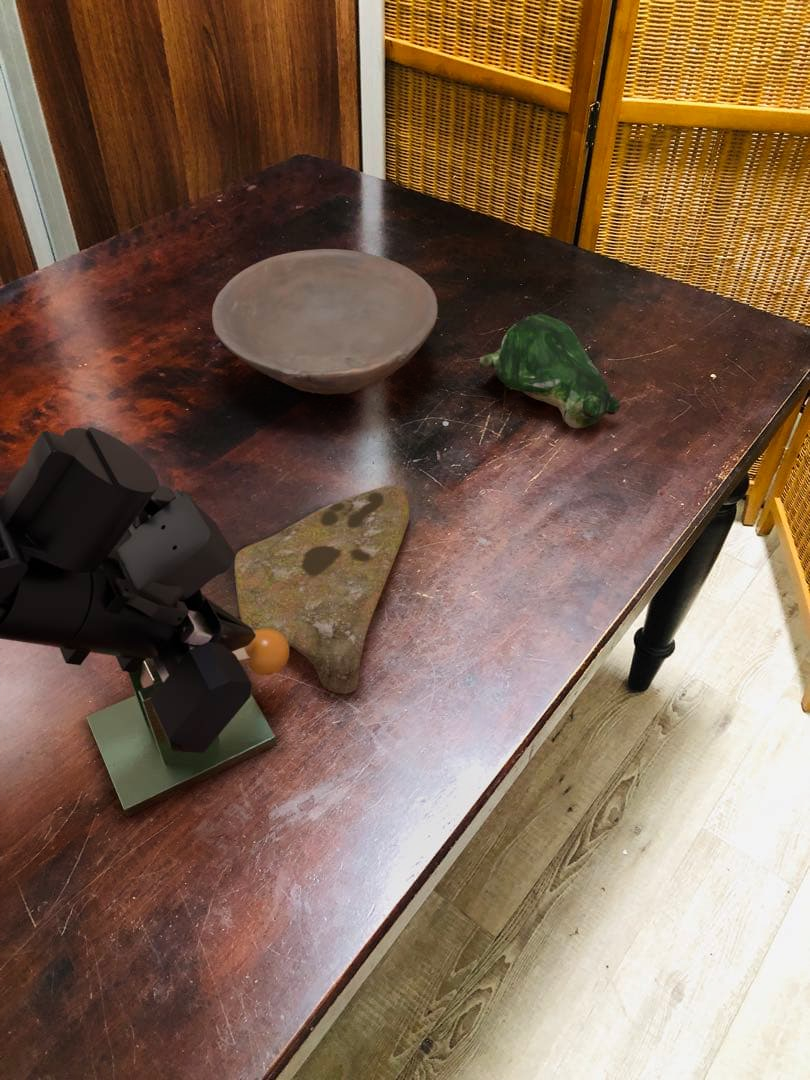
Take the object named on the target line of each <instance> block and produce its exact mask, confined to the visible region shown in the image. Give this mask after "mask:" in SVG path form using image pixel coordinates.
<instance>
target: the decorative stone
mask: <svg viewBox="0 0 810 1080" xmlns="http://www.w3.org/2000/svg"><path fill="white" fill-rule="evenodd" d="M410 512H411V511H410V503H409V498H408V496H407V493H406V492H405V491H404V489H403V488H402V487H401V486H399V485H396V484H395V485H394V484H393V485H385V486H381V487H378V488H374V489H371V490H368V491H365V492H362V493H359V494H356V495H354V496H351V497H348V498H347V497H346V498H345V499H342V500H339V501H336V502H333V503H330V504H328V505H326V506H324V507H322V508H320V509H318V510H316V511H314V512H312V513H310V514H308V515H306V516H305V517H303V518H302V519H300V520H298V521H296V522H295V523H293V524H291V525H290V526H288V527H286V528H284V529H283V530H281V531H279V532H277V533H276V534H274V535H273V534H272V536H270V537H267V538H265V539H262V540H260V541H258V542H255V543H253V544H250V545H247V546H245V547H243V548H242V549H240V550H239V551H238V552H237V553H236V554H235V558H234V579H235V588H236V597H237V605H238V613H239V619H240V620H241V621H242V622H244V623H245V624H247V625H248V626H250V627H251V628H252V630H253V632H254V631H256V630H259V629H264V628H269V629H273V630H276V631H278V632H279V633H281V634H282V635H283V636H284V637H285V639H286V640H287V642H288V645H289V648H290V647H291V648H292V649H295V650H296V651H297V652H299V653H300V654H301V655H303V657H305V658H306V659H307V660H308V661H309V663H311V664H312V665H313V666H314V667H315V668H316V672H317V674H318V678H319V680H320V683H321V684H322V686H323V687H324V688H325V689H327V690H328V691H330V692H332V693H335V694H336V693H337V694H349V693H352V692H353V691H355V690H356V689H357V688H358V686H359V681H360V679H359V676H360V668H361V663H362V659H361V657H362V654H363V651H364V645H365V639H366V635H367V633H368V629H369V627H370V623H371V620H372V618H373V615H374V612H375V610H376V607H377V605H378V602H379V599H380V597H381V594H382V592H383V589H384V587H385V586H386V585H385V584H386V582H387V579H388V578H389V574H390V572H391V569H392V567H393V564H394V562H395V561H396V557H397V555H398V552H399V549H400V546H401V543H402V541H403V538H404V536H405V534H406V530H407V528H408V525H409V521H410V514H411V513H410Z"/></svg>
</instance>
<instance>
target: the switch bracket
mask: <svg viewBox="0 0 810 1080" xmlns="http://www.w3.org/2000/svg"><path fill="white" fill-rule="evenodd" d="M141 670H142V665H141V666H140V667H139V669H138V670H137V671H136V672H135V673H133V672H126V673H127V676H128V680H129V683H130V684H131V688H132V691H133V693H134V695H132V696H130V697H128V698H126V699H123V700H121V701H119V702H117V703H114V704H111V705H109V706H106V707H105V708H102V709H100V710H98V711H96V712H93V713H91V714H89V715H87V716H85V717H86V721H87V723H88V725H89V728H90V730H91V732H92V735H93V738H94V740H95V743H96V746H97V748H98V751H99V753H100V755H101V757H102V760H103V761H104V762H103V763H104V764H105V767H106V770H107V772H108V775H109V777H110V779H111V782H112V784H113V787H114V789H115V792H116V794H117V796H118V799H119V801H120V803H121V806H122V810H123V811H124V813H125V816H126V818H129V817H131V816H133V815H135V814H137V813H139V812H141V811H143V810H146V809H148V808H149V807H151V806H154V805H156V804H158V803H160V802H162V801H164V800H166V799H168V798H171V797H172V796H174V795H177V794H178V793H180V792H183V791H184V790H187V789H189V788H190V787H192V786H195V785H196V784H199V783H201V782H203V781H205V780H207V779H209V778H211V777H213V776H215V775H217V774H219V773H221V772H223V771H226V770H227V769H229V768H232V767H234V766H236V765H238V764H239V763H242V762H244V761H246V760H248V759H250V758H253V757H254V756H257V755H258V754H260V753H262V752H264V751H266V750H268V749H270V748H272V747H274V746H277V738H276V735H275V733H274V731H273V729H272V728H271V726H270V724H269V722H268V721H267V719H266V717H265V715H264V713H263V711H262V710H261V707H260V706H259V705H258V703H257V701H256V699H255V698H254V696H253V694H252V693H251V696H250V698H249V699H248V700H247V702H246V703H245V704H244V705H243V706H242V708H241V709H240V710H239V711H238V712H237V714H236V715H235V716H234V717H233V718H232V720H231V721H230V722H229V723H228V724H227V726H226V727H225V728H224V729H223V730H222V732H221V733H220V734H219V735H218V736H217V738H216V739H215V740H214V741H213V742H212V744H211V745H210V746H209V747H208V748H207V750H206V751H205V752H204V753H198V752H181V751H172V748H171V746H170V744H169V742H168V740H167V738H166V736H165V734H164V731H163V729H162V727H161V725H160V723H159V721H158V719H157V716H156V714H155V712H154V710H153V707H152V704H151V701H150V699H151V697H152V696H153V695H154V693H155V692H156V691H157V690H158V688H159V687H160V686H161V685H162V683H163V681H159V682H157V683H155V684H152V685H150V686H148V687H146V688H143V686H142V684H141V682H140V677H141Z"/></svg>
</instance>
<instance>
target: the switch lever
mask: <svg viewBox="0 0 810 1080" xmlns="http://www.w3.org/2000/svg"><path fill="white" fill-rule="evenodd" d="M254 633H255V635H256V637H255V638H254V639H253V641H252V642H251V643H250V644H249V645H248V646H245V647H243V648H240V649H238V650H235V651H233V653H234V654H235V655H236V657H237V658H238V660H239V662H240V664H241V666H242V667H243V668H245V667H247V669H248V670H250V671H251V672H252V673H254V674H256V675H259V676H272V675H275V674H276V673H279V672H280V671H281V670H282V669H284V667H286V664H287V663H288V660H289V657H290V646H289V645H288V642H287V640H286V639H285V637H284V636H283V635H282V634H281V633H279V632H278V631H276V630H273V629H269V628H264V629H259V630H256V631H254ZM159 681H162V679H161V677H160V675H159V673H158V671H157V669H156V667H155V665H154V663H153V661H152V659H148V658H147V659H146V660H145V661H144V662H143V663H142V670H141V677H140V682H141V684H142V686H143V688H146V687H148V686H150V685H152V684H155V683H157V682H159Z"/></svg>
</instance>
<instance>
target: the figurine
mask: <svg viewBox="0 0 810 1080" xmlns="http://www.w3.org/2000/svg"><path fill="white" fill-rule="evenodd" d="M477 363H478V364H477V368H478V369H479V370H481V371H484V370H487V369H491V371H492V372H493V373H495V375H496V378H498V380H499V381H500V382H502V383H503V384H504V386H506V387H507V388H508V389H511V390H515V391H519V392H522V393H523V394H525V395H526V396H528V397H530V398H532V399H534V400H537V401H540V402H544V403H546V404H548V405H551V406H553V407H556V408H558V409H559V411H560V413H561V415H562V419H563V421H564V423H565V424H567V426H568V427H570V428H572V429H582V428H583V429H584V428H587V427H589V426H592V425H594V424H595V423H597V422H598V421H599V420H600V419H601V418H602V417H603V416H605V415H610V416H612V415H615V414H617V413H618V412H619V410H620V408H621V402H620V400H618V399H617V398H616V397H615V396H613V395H612V394H611V392H610V389H609V387H608V384H607V382H606V380H605V378H604V376H603V375H602V373H601V371H600V370H599V369H598V368H597V367H596V366H595V365H594V363H593V361H591V359H590V358H589V356H588V354H587V353H586V350H585V348H584V346H583V344H582V343H581V341H580V339H579V338H578V336H577V335H576V333H575V332H574V330H573V329H572V328H571V327H570V326H569V325H568V324H566V323H565V322H563V321H562V320H560V319H557V318H554V317H551V316H549V315H546V314H543V313H542V314H541V313H538V314H536V313H535V314H532V315H527V316H526V317H523V318H521V319H520V320H519V321H517V322H516V323H515V324H514V325H512V326H511V327H510V328H509V329H508V330H506V332H505V335H503V337H502V340H501V345H500V348H499V349H497V350H496V351H494V352H491V353H488V354H485V355H483V356H481V357H480V358H478V362H477Z"/></svg>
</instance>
